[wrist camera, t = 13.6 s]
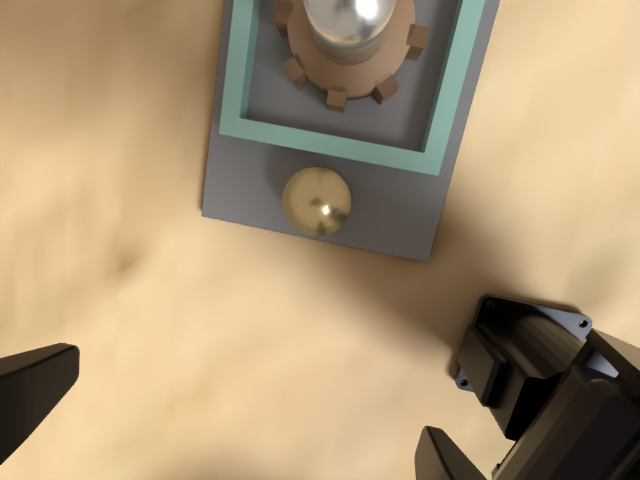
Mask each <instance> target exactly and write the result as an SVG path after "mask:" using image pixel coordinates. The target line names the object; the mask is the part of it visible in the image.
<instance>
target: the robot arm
mask: <svg viewBox="0 0 640 480" xmlns="http://www.w3.org/2000/svg"><path fill="white" fill-rule="evenodd" d="M488 301H492V303H491V305H489V306H486V303H487V302H488ZM582 320H583V323H582V324H580V325H579V322H580V321H582ZM591 327H592V320H591V319H590V318H589V317H588V316H586V315H584V314H582V313H577V312H573V311H568V310H563V309H558V308H553V307H549V306H544V305H539V304H534V303H529V302H525V301H520V300H515V299H510V298H505V297H501V296H496V295H491V294H486V295H483V296H482V297H481V298H480V300H479V303H478V306H477V309H476V313H475V316H474V319H473V322H472V324H470V325H469V326H468V327H467V330H466V333H465V336H464V339H463V343H462V346H461V349H460V352H459V355H458V358H457V361H458V363H459V365H458V368H457V371H456V375H455V378H454V380H455V383H456V385H457V387H458V388H459V389H462V390H466V391H471V392H474V393H475V394H476V396H477V398H478V400H479V402H480V403H481V405H482V406H483V407H487V408H489V409H490V411H491V413H492V415H493V416H494V418H495V420H496V422H497V423H498V425H499V427H500V429H501V431H502V432H503V434H504V436H505V437H506V438H507V439H509V440H513V441H516V442H515V444H514V445H513V446H512V448H511V449H510V451H509V452H508V454H507V455H506V456H505V458H504V459H503V461H502V462H501V464H497V465H496V466H495V468H494V469H493V471H492V480H640V348H638V347H635V346H633V345H631V344H628V343H626V342H624V341H621V340H619V339H617V338H615V337H612V336H610V335H608V334H605V333H603V332H601V331H598V330H596V329H594V328H591ZM590 329H591V330H590ZM586 340H587V341H586ZM585 341H586V342H585ZM79 356H80V351H79V348H78V347H77V346H75V345H71V344H67V343H58V344H54V345H50V346H46V347H42V348H38V349H34V350H30V351H27V352H23V353H19V354H15V355H11V356H7V357H3V358H0V465H1V464H2V463H3V462H4V461H5V460H6V459H7V458H8V457H9V456H10V455H11V454H12V453H13V452H14V451H15V450H16V449H17V448H18V447H19V446H20V445H21V444H22V443H23V442H24V441H25V440H26V439H27V438H28V437H29V436H30V435H31V434H32V432H33V431H34V430H35V429H36V428H37V427H38V426H39V424H40V423H41V422H42V421H43V420H44V419H45V417H46V416H47V415H48V414H49V413H50V412H51V410H52V409H53V408H54V407H55V406H56V405H57V404H58V402H59V401H60V400H61V399H62V398H63V397H64V395H65V394H66V393H67V392H68V391H69V390H70V388H71V387H72V386H73V385H74V384H75V382H76V380H77V378H78V376H79ZM463 379H466V381H465V382H461V380H463ZM415 473H416V480H487V479H486V478H485V477H484V476H483V474H482V473H481V472H480V471H479V470H478V469H477V468H476V467H475V466H474V464H473V463H472V462H471V461H470V460H469V459H468V458H467V457H466V455H465V454H464V453H463V452H462V451H461V450H460V449H459V448H458V446H457V445H456V444H455V443H454V442H453V441H452V440H451V439H450V438H449V436H448V435H447V434H446V433H445V432H444V431H443V430H442V429H440V428H436V427H431V426H425V427H424V428H423V430H422V433H421V436H420V439H419V442H418V446H417V449H416V452H415Z"/></svg>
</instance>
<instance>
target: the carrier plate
mask: <svg viewBox="0 0 640 480" xmlns="http://www.w3.org/2000/svg"><path fill="white" fill-rule="evenodd" d="M277 1H283V2H289V3H291V0H277ZM499 2H500V0H416V1H415V2H414V6H415V24H416V25H421V26H427V27H430V28H429V32H428V36H427V41H426V45H425V48H424V50H423V52H422V53H421V55H420V57H419V58H418V60H417V61H412V60H407V59H404V60H403V62H402V64H401V66H400V68H399V70H398V71H397V73H396V74H395V76H394V78H395V80H396V81H397V83H398V85H399V88H398V90H397V91H396V93H395V95H394V96H392V97H391V98H389V99H388V100H387V101H385V102H384V103H382V104H381V105H380V104H379V103H378V101H377V99H376V98H375V96H374V95H373V94H372V95H370V96H368V97H365V98H362V99H357V100H347V104H346V109H345V113H340V112H335V111H329V110H328V107H327V105H326V101H327V95H325V94H323V93H321V92H320V91H318V90H317V89H316V88H315V87H313V86H312V85H311V84H310V83H308V84H306V85H305V86H304V87H303V88H301V89H300V90H299V89H298V88H297V86H296V85H295V83H294V82H293V80H292V79H291V77H290V76H289V74H288V73H287V71H286V69H285V68H284V66H283V64H284V63H286V62H287V61H288V60H289V59H291V58H292V57H293V56H294V55H293V53H292V50H291V47H290V43H289V38H284V37H281V35H280V33H279V31H278V29H277V27H276V25H275V23H274V22H273V20H274V13H275V6H276V0H224V9H223V18H222V28H221V37H220V46H219V56H218V65H217V75H216V84H215V93H214V103H213V112H212V122H211V131H210V140H209V150H208V159H207V168H206V178H205V187H204V197H203V206H202V215H201V216H203V217H208V218H213V219H218V220H222V221H227V222H232V223H237V224H242V225H247V226H252V227H257V228H261V229H266V230H271V231H276V232H281V233H286V234H291V235H295V236H300V237H305V238H310V239H315V240H320V241H325V242H330V243H334V244H339V245H344V246H349V247H354V248H359V249H364V250H368V251H373V252H378V253H383V254H388V255H393V256H398V257H403V258H407V259H412V260H417V261H422V262H427V263H428V259H429V256H430V252H431V249H432V245H433V241H434V238H435V234H436V230H437V227H438V223H439V220H440V216H441V212H442V209H443V205H444V201H445V198H446V194H447V191H448V187H449V183H450V180H451V176H452V172H453V169H454V165H455V161H456V158H457V154H458V151H459V147H460V143H461V140H462V136H463V132H464V129H465V125H466V122H467V118H468V114H469V111H470V107H471V103H472V100H473V96H474V93H475V89H476V85H477V82H478V78H479V74H480V71H481V67H482V64H483V60H484V56H485V53H486V49H487V45H488V42H489V38H490V35H491V31H492V27H493V24H494V20H495V16H496V13H497V9H498V6H499Z"/></svg>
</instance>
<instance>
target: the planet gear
mask: <svg viewBox="0 0 640 480" xmlns="http://www.w3.org/2000/svg"><path fill="white" fill-rule="evenodd" d="M415 1H416V0H291V3H289V2H283V1H277V0H276V6H275V13H274V20H273V22H274V23H275V25H276V27H277V29H278V31H279V33H280V35H281V37H284V38H289V43H290V47H291V50H292V53H293V55H294V56H293V57H292V58H291V59H289V60H288V61H287V62H286V63H284V64H283V66H284V68H285V69H286V71H287V73H288V74H289V76H290V77H291V79H292V80H293V82H294V83H295V85H296V86H297V88H298V89H299V90H300V89H301V88H303V87H304V86H305V85H306V84H308V83H310V84H311V85H312V86H313V87H315V88H316V89H317V90H318V91H320V92H321V93H323V94H325V95H327V101H326V105H327V107H328V110H329V111H335V112H340V113H345V109H346V104H347V100H357V99H362V98H365V97H368V96H370V95H372V94H373V95H374V96H375V98H376V99H377V101H378V103H379V104H380V105H381V104H382V103H384V102H385V101H387V100H388V99H389V98H391V97H392V96H394V95H395V93H396V91H397V90H398V88H399V85H398V83H397V81H396V80H395V78H394V76H395V74H396V73H397V71H398V70H399V68H400V66H401V64H402V62H403V60H404V59H407V60H412V61H417V60H418V58H419V57H420V55H421V53H422V52H423V50H424V48H425V45H426V41H427V36H428V32H429V28H430V27H427V26H421V25H416V24H415V6H414V2H415Z"/></svg>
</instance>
